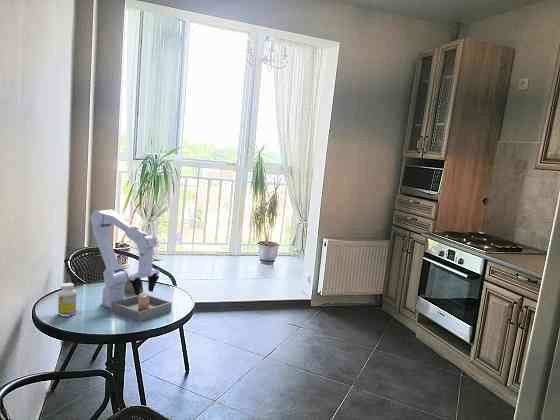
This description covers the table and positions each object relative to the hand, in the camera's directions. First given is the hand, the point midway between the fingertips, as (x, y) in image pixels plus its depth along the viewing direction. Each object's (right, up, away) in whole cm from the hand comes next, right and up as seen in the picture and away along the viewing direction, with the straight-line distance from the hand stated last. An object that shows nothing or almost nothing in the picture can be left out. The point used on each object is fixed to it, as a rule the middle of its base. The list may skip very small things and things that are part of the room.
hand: (144, 293), depth 183 cm
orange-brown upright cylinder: (0, -7, +1) cm, 8 cm away
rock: (-15, -5, +26) cm, 30 cm away
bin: (-1, -8, +1) cm, 9 cm away
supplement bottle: (-30, -7, -9) cm, 32 cm away
